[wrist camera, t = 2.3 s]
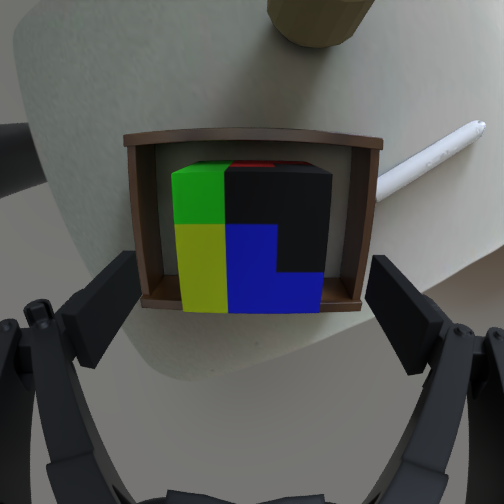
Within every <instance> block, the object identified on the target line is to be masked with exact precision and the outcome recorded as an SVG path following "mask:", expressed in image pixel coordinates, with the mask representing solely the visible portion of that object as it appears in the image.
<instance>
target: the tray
mask: <svg viewBox="0 0 504 504" xmlns="http://www.w3.org/2000/svg"><path fill="white" fill-rule="evenodd" d="M123 139H124V147H126V146H127V152H128V174H129V189H130V202H131V213H132V223H133V232H134V240H135V248H136V256H137V263H138V269H139V276H140V282H141V288H142V294H143V296H142V297H141V298H140V300H141V306H142V308H155V309H172V310H183V305H182V297H181V289H180V280H179V275H164V270H163V261H162V252H161V242H160V231H159V219H158V206H157V190H156V169H155V144H159V143H174V142H193V141H286V142H305V143H320V144H332V145H343V146H352V162H351V177H350V190H349V202H348V213H347V222H346V231H345V240H344V248H343V256H342V263H341V270H340V278H324V280H323V288H322V296H321V303H320V311H319V312H351V311H361V306H362V301H361V300H360V297H361V292H362V287H363V281H364V276H365V270H366V265H367V259H368V252H369V246H370V239H371V232H372V225H373V217H374V209H375V200H376V190H377V179H378V166H379V151H380V150H383V138H379V137H372V136H365V135H357V134H348V133H338V132H328V131H316V130H302V129H283V128H199V129H180V130H166V131H154V132H144V133H135V134H126V135H123Z"/></svg>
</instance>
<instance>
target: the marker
mask: <svg viewBox="0 0 504 504" xmlns="http://www.w3.org/2000/svg"><path fill="white" fill-rule="evenodd" d="M485 126H486V125H485V123H484V122H482V121H472V122H469V123H468V124H466V125H464V126H463V127H461V128H459V129H458V130H456V131H454V132H453V133H451V134H449V135H448V136H446V137H444V138H443V139H441V140H439V141H438V142H436V143H434V144H433V145H431V146H429V147H428V148H426V149H424V150H423V151H421V152H420V153H418V154H416V155H415V156H413V157H411V158H410V159H408V160H406V161H405V162H403V163H401V164H400V165H398V166H396V167H395V168H393V169H391V170H390V171H388V172H386V173H385V174H383V175H381V176H380V177H378V179H377V190H376V200H375V202H376V203H377V202H379V201H381V200H383V199H385V198H386V197H388V196H389V195H391V194H393V193H394V192H396V191H397V190H399V189H401V188H402V187H404V186H405V185H407V184H409V183H410V182H412V181H413V180H415V179H417V178H418V177H420V176H421V175H423V174H425V173H426V172H428V171H429V170H431V169H432V168H434V167H436V166H437V165H439V164H440V163H442V162H443V161H445V160H446V159H448V158H450V157H451V156H453V155H454V154H456V153H457V152H459V151H460V150H462V149H463V148H465V147H467V146H468V145H470V144H471V143H473V142H474V141H476V140H477V139H479V138H480V137H481V136H482V135H483V132H484V129H485Z"/></svg>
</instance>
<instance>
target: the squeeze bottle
mask: <svg viewBox="0 0 504 504" xmlns="http://www.w3.org/2000/svg"><path fill="white" fill-rule="evenodd" d="M374 1H375V0H268V1H267V12H268V14H269V16H270V18H271V20H272V22H273V25H274V26H275V27H276V28H277V29H278V30H279V31H280V32H281V33H282V34H283V35H284V36H285V37H286V38H287V39H288V40H289V41H291V42H293V43H295V44H298V45H300V46H304V47H312V48H324V47H329V46H334V45H339V44H341V43H343V42H344V41H346V40H347V39H349V38H350V37H351V36H353V34H354V32H355V31H356V29H357V28H358V26H359V24H360V23H361V21H362V20H363V18H364V16H365V15H366V13H367V12H368V10H369V9H370V7H371V5H372V4H373V2H374Z"/></svg>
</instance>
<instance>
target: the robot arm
mask: <svg viewBox="0 0 504 504" xmlns="http://www.w3.org/2000/svg"><path fill="white" fill-rule="evenodd" d="M141 295H142V291H141V285H140V279H139V272H138V266H137V259H136V252H135V251H122V252H121V253H120V254H119V255H118V256H117V257H116V258H115V259H114V260H113V261H112V262H111V263H110V264H109V265H108V266H107V267H106V268H104V269H103V270H102V271H101V272H100V273H99V274H98V275H97V276H96V277H95V278H94V279H93V280H92V281H91V282H90V283H89V284H88V285H87V286H86V287H85V288H84V289H81V290H80V291H78V292H76V293H74V294H73V295H72V296H71V297H70V298H69V300H67V301H66V302H65V305H62V306H61V308H60V309H59V310H58V311H57V312H56V313H55V314H54V312H53V309H52V306H51V303H50V301H49V300H47V299H38V300H35V301H32V302H30V303H29V304H27V306H25V308H24V310H23V311H24V314H25V317H26V319H27V322H28V325H29V327H30V328H20V327H19V324H18V322H17V320H15V319H5V320H2V321H1V322H0V504H31V488H30V441H31V425H32V413H33V404H34V395H35V391H36V397H37V403H38V409H39V414H40V419H41V424H42V429H43V433H44V437H45V441H46V445H47V449H48V452H49V456H50V460H51V463H49V464H47V465H46V470H47V475H48V478H49V481H50V484H51V487H52V490H53V493H54V495H55V498H56V501H57V504H235V503H231V502H228V501H224V500H220V499H217V498H214V497H210V496H208V495H204V494H195V493H187V492H180V491H174V490H168V491H167V495H166V497H162V498H153V499H149V500H145V501H142V502H139V503H136V502H135V500H134V499H133V498H132V496H131V495H130V494H129V492H128V491H127V489H126V487H125V486H124V484H123V482H122V481H121V479H120V477H119V475H118V473H117V471H116V469H115V467H114V465H113V463H112V461H111V459H110V457H109V455H108V453H107V451H106V449H105V446H104V444H103V442H102V440H101V438H100V435H99V433H98V430H97V428H96V426H95V423H94V421H93V418H92V416H91V413H90V411H89V408H88V405H87V403H86V400H85V397H84V394H83V391H82V389H81V385H80V382H79V379H78V376H77V373H76V370H75V367H74V364H73V362H72V361H73V360H74V358H75V357H76V356H77V359H78V361H79V363H80V366H82V367H87V368H92V369H95V368H96V366H97V364H98V363H99V361H100V359H101V358H102V356H103V354H104V353H105V351H106V349H107V348H108V346H109V344H110V343H111V341H112V339H113V338H114V337H115V335H116V333H117V332H118V330H119V329H120V327H121V326H122V324H123V322H124V321H125V319H126V318H127V316H128V315H129V313H130V312H131V310H132V309H133V307H134V306H135V304H136V303H137V301H138V300H139V298H140V297H141ZM365 300H366V302H367V303H368V305H369V307H370V308H371V310H372V312H373V313H374V315H375V317H376V318H377V320H378V322H379V324H380V325H381V327H382V329H383V331H384V332H385V334H386V336H387V338H388V339H389V341H390V343H391V345H392V347H393V349H394V350H395V352H396V354H397V356H398V358H399V359H400V361H401V363H402V365H403V367H404V369H405V371H406V373H407V375H415V374H421V373H423V371H424V369H425V367H426V365H427V362H428V364H429V365H430V367H431V370H430V372H429V374H428V376H427V378H426V380H425V382H424V384H423V386H422V387H423V390H422V392H421V395H420V397H419V400H418V402H417V404H416V407H415V409H414V411H413V414H412V416H411V418H410V420H409V423H408V425H407V427H406V429H405V431H404V433H403V435H402V437H401V439H400V441H399V443H398V445H397V447H396V449H395V451H394V453H393V455H392V457H391V458H390V460H389V462H388V464H387V465H386V467H385V469H384V471H383V472H382V474H381V476H380V477H379V480H378V481H377V482H376V484H375V486H374V487H373V489H372V490H371V492H370V493H369V495H368V496H367V498H366V499H365V500H364V502H363V503H362V504H439V503H440V500H441V498H442V496H443V493H444V491H445V488H446V486H447V482H448V479H449V478H448V475H447V474H445V469H446V466H447V463H448V461H449V457H450V455H451V452H452V449H453V445H454V442H455V439H456V435H457V432H458V428H459V424H460V420H461V416H462V412H463V408H464V404H465V399H466V394H467V403H468V419H469V467H468V483H467V494H466V503H465V504H504V330H502V329H501V328H497V327H492V328H489V330H488V331H487V334H486V336H485V337H482V336H475V335H474V332H473V331H472V330H471V329H470V328H469V327H467V326H465V325H463V324H458V323H457V324H454V323H453V322H452V321H451V320H450V319H449V318H448V317H447V315H446V314H445V313H444V312H443V311H442V310H441V309H440V307H439V306H437V304H436V303H435V302H434V301H433V300H432V299H431V298H429V297H428V296H426V295H424V294H423V295H422V294H421V293H420V292H419V291H418V290H417V289H416V288H415V287H414V285H413V284H412V283H411V282H410V281H409V280H408V279H407V278H406V277H405V276H404V275H403V274H402V273H401V271H400V270H399V269H398V268H397V267H396V266H395V265H394V264H393V263H392V262H391V261H390V260H389V259H388V258H387V257H386V256H385V255H373V256H372V262H371V268H370V273H369V279H368V284H367V289H366V294H365ZM259 504H336V503H331V502H325V499H324V494H319V495H309V496H296V497H284V498H280V499H276V500H272V501H268V502H263V503H259Z"/></svg>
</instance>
